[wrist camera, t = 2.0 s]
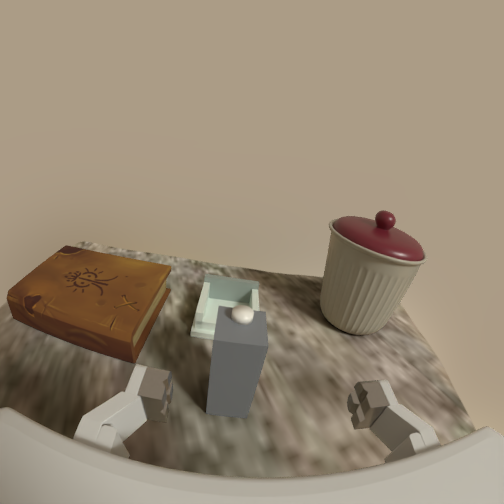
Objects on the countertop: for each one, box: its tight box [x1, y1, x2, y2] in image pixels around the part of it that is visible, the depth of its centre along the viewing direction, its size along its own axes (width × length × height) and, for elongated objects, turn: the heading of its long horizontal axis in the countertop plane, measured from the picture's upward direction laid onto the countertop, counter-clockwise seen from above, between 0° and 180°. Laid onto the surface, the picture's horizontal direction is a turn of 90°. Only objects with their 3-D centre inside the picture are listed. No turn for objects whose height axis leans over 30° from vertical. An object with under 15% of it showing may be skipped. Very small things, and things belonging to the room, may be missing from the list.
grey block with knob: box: [206, 305, 268, 418], centre depth 26 cm, size 5×5×13 cm
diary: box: [7, 246, 171, 363], centre depth 38 cm, size 23×19×6 cm
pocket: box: [191, 274, 259, 340], centre depth 43 cm, size 10×11×5 cm
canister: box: [320, 211, 427, 335], centre depth 45 cm, size 18×18×21 cm
